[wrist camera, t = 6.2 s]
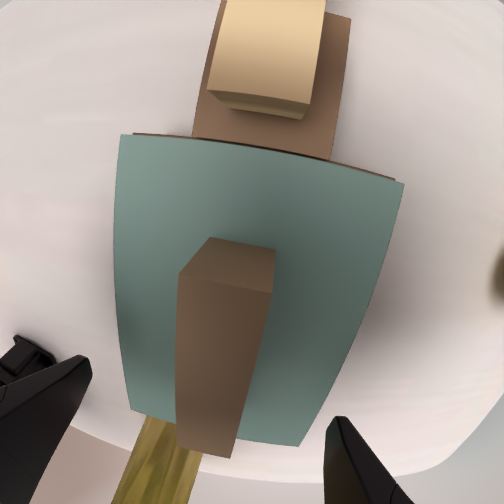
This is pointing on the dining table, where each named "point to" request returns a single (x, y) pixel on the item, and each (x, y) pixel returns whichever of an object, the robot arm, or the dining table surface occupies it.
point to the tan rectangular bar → (267, 55)
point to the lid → (240, 283)
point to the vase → (158, 468)
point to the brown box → (273, 126)
